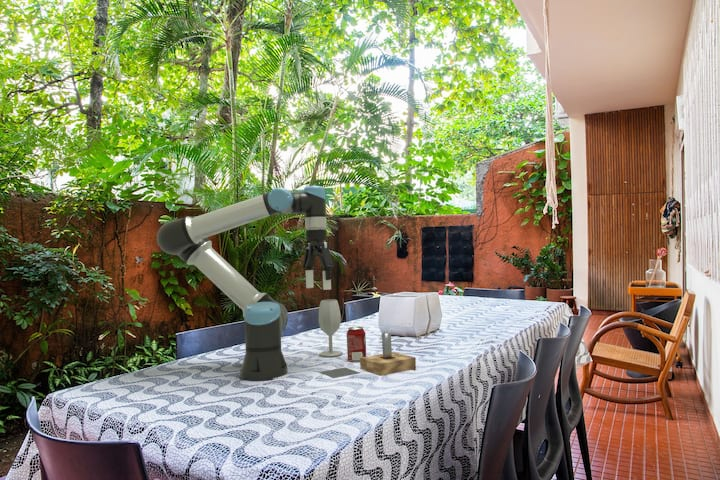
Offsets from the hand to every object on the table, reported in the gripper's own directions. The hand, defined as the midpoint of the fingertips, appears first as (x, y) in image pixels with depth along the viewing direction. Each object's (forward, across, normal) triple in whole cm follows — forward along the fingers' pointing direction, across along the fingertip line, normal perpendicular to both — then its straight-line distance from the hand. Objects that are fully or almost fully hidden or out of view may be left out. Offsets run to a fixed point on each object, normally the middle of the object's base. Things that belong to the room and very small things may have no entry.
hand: (318, 288), depth 180 cm
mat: (+27, -17, +2) cm, 32 cm away
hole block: (+27, -23, -13) cm, 38 cm away
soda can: (+27, -5, -12) cm, 30 cm away
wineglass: (+27, +11, -10) cm, 31 cm away
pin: (+27, -23, -13) cm, 38 cm away
